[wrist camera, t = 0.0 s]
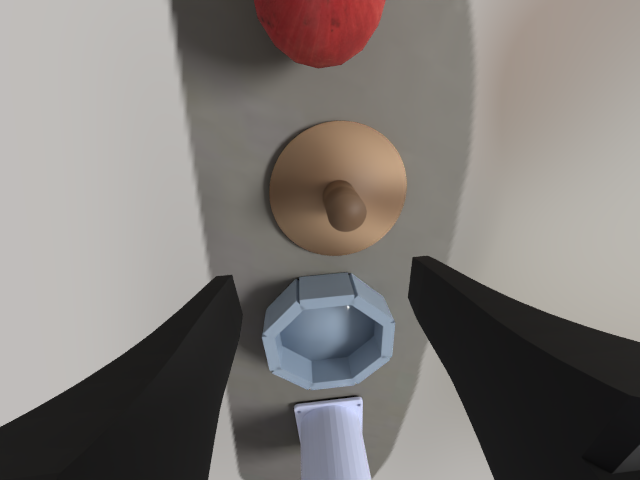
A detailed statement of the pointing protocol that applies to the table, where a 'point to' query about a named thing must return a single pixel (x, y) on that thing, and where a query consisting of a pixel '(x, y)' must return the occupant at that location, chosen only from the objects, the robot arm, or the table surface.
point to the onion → (319, 28)
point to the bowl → (327, 331)
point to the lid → (337, 188)
